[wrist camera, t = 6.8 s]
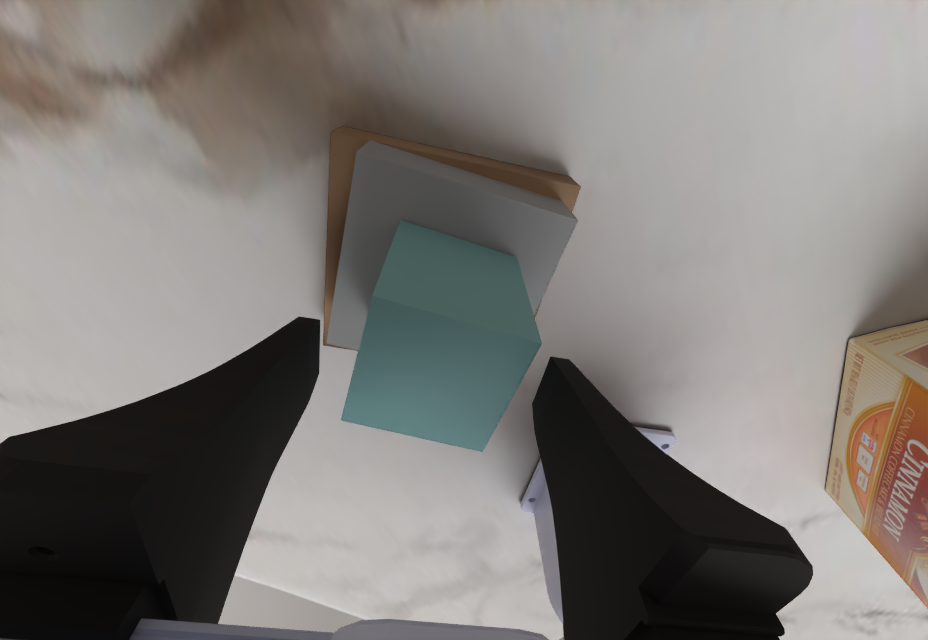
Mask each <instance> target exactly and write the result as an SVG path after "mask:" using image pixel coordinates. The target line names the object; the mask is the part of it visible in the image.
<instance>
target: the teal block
mask: <svg viewBox="0 0 928 640" xmlns="http://www.w3.org/2000/svg"><path fill="white" fill-rule="evenodd" d="M541 344H542V342H541V339H540V335H539V332H538V329H537V325H536V322H535V318H534V315H533V311H532V308H531V304H530V301H529V297H528V294H527V290H526V287H525V283H524V280H523V276H522V273H521V269H520V266H519V262H518V259H517V257H515V256H512V255H508V254H505V253H502V252H499V251H496V250H493V249H490V248H487V247H484V246H480V245H477V244H474V243H471V242H468V241H465V240H462V239H459V238H455V237H452V236H449V235H446V234H443V233H440V232H437V231H434V230H431V229H427V228H424V227H421V226H418V225H415V224H412V223H409V222H406V221H403V220H400V223H399V225H398V228H397V231H396V233H395V236H394V239H393V241H392V244H391V247H390V249H389V252H388V255H387V258H386V260H385V263H384V266H383V268H382V271H381V274H380V276H379V279H378V282H377V284H376V287H375V290H374V292H373V295H372V299H371V303H370V307H369V311H368V315H367V319H366V323H365V327H364V331H363V335H362V339H361V343H360V347H359V351H358V355H357V358H356V362H355V366H354V370H353V374H352V378H351V382H350V386H349V390H348V394H347V398H346V402H345V406H344V410H343V414H342V418H341V420H342V421H346V422H351V423H355V424H360V425H364V426H369V427H373V428H378V429H382V430H387V431H391V432H396V433H400V434H405V435H409V436H414V437H418V438H423V439H427V440H431V441H436V442H440V443H445V444H449V445H454V446H458V447H463V448H467V449H472V450H476V451H481V452H482V451H483V450H484V448H485V446H486V444H487V442H488V441H489V439H490V437H491V435H492V433H493V431H494V430H495V428H496V426H497V424H498V422H499V421H500V419H501V417H502V415H503V413H504V411H505V410H506V408H507V406H508V404H509V402H510V400H511V399H512V397H513V395H514V393H515V391H516V390H517V388H518V386H519V384H520V382H521V380H522V379H523V377H524V375H525V373H526V371H527V370H528V368H529V366H530V364H531V362H532V360H533V359H534V357H535V355H536V353H537V351H538V350H539V348H540V346H541Z"/></svg>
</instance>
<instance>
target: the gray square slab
mask: <svg viewBox="0 0 928 640" xmlns="http://www.w3.org/2000/svg"><path fill="white" fill-rule="evenodd" d="M400 220H403V221H406V222H409V223H412V224H415V225H418V226H421V227H424V228H427V229H431V230H434V231H437V232H440V233H443V234H446V235H449V236H452V237H455V238H459V239H462V240H465V241H468V242H471V243H474V244H477V245H480V246H484V247H487V248H490V249H493V250H496V251H499V252H502V253H505V254H508V255H512V256H515V257H517V259H518V262H519V266H520V269H521V273H522V276H523V280H524V283H525V287H526V290H527V294H528V297H529V301H530V304H531V308H532V311H533V315H534V314H535V312H536V310H537V308H538V306H539V303H540V301H541V299H542V297H543V295H544V293H545V290H546V288H547V286H548V284H549V282H550V280H551V277H552V275H553V273H554V271H555V269H556V267H557V264H558V262H559V260H560V258H561V256H562V254H563V251H564V249H565V247H566V245H567V243H568V241H569V238H570V236H571V234H572V232H573V230H574V228H575V225H576V223H577V221H578V220H577V218H576V217H575V216H574V215H573V214H572V212H571V211H570V210H569V209H568V207H567V206H566V205H565V204H564V203H563V201H560V200H557V199H554V198H551V197H547V196H544V195H541V194H538V193H535V192H532V191H529V190H526V189H522V188H519V187H516V186H513V185H510V184H507V183H503V182H500V181H497V180H494V179H491V178H488V177H485V176H481V175H478V174H475V173H472V172H469V171H466V170H463V169H459V168H456V167H453V166H450V165H447V164H444V163H441V162H437V161H434V160H431V159H428V158H425V157H422V156H419V155H415V154H412V153H409V152H406V151H403V150H400V149H396V148H393V147H390V146H387V145H384V144H381V143H378V142H374V141H371V140H370V141H369V142H367V143H366V144H365V145H364V146H363V147H361V148H360V149H359V150H358V151H357V153H356V159H355V165H354V172H353V178H352V184H351V191H350V197H349V203H348V210H347V216H346V222H345V228H344V235H343V241H342V247H341V254H340V260H339V266H338V273H337V279H336V285H335V292H334V298H333V304H332V310H331V317H330V323H329V329H328V336H327V342H326V343H327V344H331V345H336V346H340V347H345V348H349V349H353V350H358V351H359V347H360V343H361V339H362V335H363V331H364V327H365V323H366V319H367V315H368V311H369V307H370V303H371V299H372V295H373V292H374V290H375V287H376V284H377V282H378V279H379V276H380V274H381V271H382V268H383V266H384V263H385V260H386V258H387V255H388V252H389V249H390V247H391V244H392V241H393V239H394V236H395V233H396V231H397V228H398V225H399V223H400Z"/></svg>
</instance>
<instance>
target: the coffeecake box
mask: <svg viewBox="0 0 928 640" xmlns="http://www.w3.org/2000/svg"><path fill="white" fill-rule="evenodd" d="M825 492H826V493H827V494H828V495H829V496H830V497H831V498H832V499H833V500H834V501H835V503H836V504H837V505H838V506H839V507H840V508H841V509H842V511H843V512H844V513H845V514H846V515H847V516H848V518H849V519H850V520H851V521H852V522H853V523H854V524H855V525H856V527H857V528H858V529H859V530H860V531H861V532H862V533H863V535H864V536H865V537H866V538H867V539H868V540H869V541H870V543H871V544H872V545H873V546H874V547H875V548H876V549H877V551H878V552H879V553H880V554H881V555H882V556H883V557H884V559H885V560H886V561H887V562H888V563H889V564H890V565H891V567H892V568H893V569H894V570H895V571H896V572H897V573H898V575H899V576H900V577H901V578H902V579H903V580H904V581H905V583H906V584H907V585H908V586H909V587H910V588H911V590H912V591H913V592H914V593H915V594H916V595H917V596H918V598H919V599H920V600H921V601H922V602H923V603H924V605H925V606H926V607H927V608H928V320H925V321H921V322H916V323H911V324H906V325H902V326H897V327H892V328H888V329H884V330H880V331H877V332H873V333H870V334H866V335H862V336H858V337H854V338H851V339H850V340H849V343H848V348H847V355H846V361H845V368H844V375H843V381H842V386H841V393H840V401H839V407H838V413H837V419H836V426H835V432H834V438H833V445H832V451H831V457H830V464H829V470H828V476H827V483H826V488H825Z"/></svg>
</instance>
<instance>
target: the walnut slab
mask: <svg viewBox="0 0 928 640" xmlns="http://www.w3.org/2000/svg"><path fill="white" fill-rule="evenodd" d="M370 140H371V141H374V142H378V143H381V144H384V145H387V146H390V147H393V148H396V149H400V150H403V151H406V152H409V153H412V154H415V155H419V156H422V157H425V158H428V159H431V160H434V161H437V162H441V163H444V164H447V165H450V166H453V167H456V168H459V169H463V170H466V171H469V172H472V173H475V174H478V175H481V176H485V177H488V178H491V179H494V180H497V181H500V182H503V183H507V184H510V185H513V186H516V187H519V188H522V189H526V190H529V191H532V192H535V193H538V194H541V195H544V196H547V197H551V198H554V199H557V200H560V201H563V203H564V204H565V205H566V206H567V207H568V209H569V210H570V211H571V212H572V210H573V208H574V205H575V202H576V199H577V196H578V193H579V190H580V188H581V186H580V185H579V184H577V183H576V182H575V181H574V180H573V179H572V178H571V177H569V176H565V175H560V174H556V173H551V172H547V171H542V170H538V169H533V168H529V167H524V166H520V165H515V164H511V163H506V162H501V161H497V160H492V159H488V158H483V157H479V156H474V155H470V154H465V153H461V152H456V151H452V150H447V149H443V148H438V147H434V146H429V145H425V144H420V143H416V142H411V141H407V140H402V139H398V138H393V137H389V136H384V135H380V134H375V133H371V132H366V131H362V130H357V129H353V128H348V127H344V126H342V127H340V128H338V129H336V130H333V131H331V137H330V165H329V193H328V221H327V249H326V277H325V305H324V333H323V345H325V346H331V347H337V348H344V349H349V348H345V347H340V346H336V345H331V344H327V343H326V342H327V336H328V329H329V323H330V317H331V310H332V304H333V298H334V292H335V285H336V279H337V273H338V266H339V260H340V254H341V247H342V241H343V235H344V228H345V222H346V216H347V210H348V203H349V197H350V191H351V184H352V178H353V172H354V165H355V159H356V153H357V151H358V150H359V149H360V148H361V147H363V146H364V145H365V144H366V143H367V142H369V141H370ZM540 302H541V301H540ZM539 305H540V303H539ZM538 308H539V306H538ZM538 308H537V310H538ZM537 310H536V312H535V314H534V318H535V316H536V313H537ZM350 350H353V349H350ZM357 351H358V350H357Z"/></svg>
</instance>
